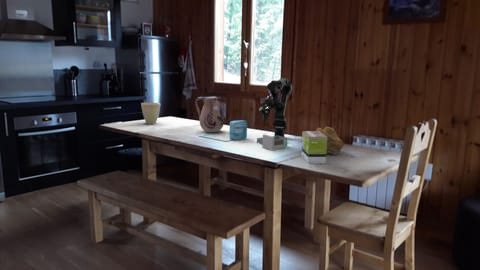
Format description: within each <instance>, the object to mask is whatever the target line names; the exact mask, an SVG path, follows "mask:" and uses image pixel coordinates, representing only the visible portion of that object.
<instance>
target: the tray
mask: <svg viewBox="0 0 480 270" xmlns="http://www.w3.org/2000/svg"><path fill="white" fill-rule="evenodd" d="M271 136H272V137H274V139H282V140H287V141H288V137H286V136H285V137H286V138H285V137H281V136H274V135H271ZM256 143H258V144H261V145H262V143H263V136H262V137H257V138H256Z"/></svg>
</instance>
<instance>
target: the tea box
mask: <svg viewBox="0 0 480 270" xmlns="http://www.w3.org/2000/svg"><path fill="white" fill-rule="evenodd" d="M301 133H302V134H301V135H302V136H301V157H302V158H303V159H304V161H306V163H307V164H308V163H321V164H326V161H327V154H326V152H327V136H325V135H324V134H322V133H321V132H320V131H316V130H315V131H314V130H313V131H312V130H307V131H305V130H304V131H302V132H301Z"/></svg>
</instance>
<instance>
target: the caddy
mask: <svg viewBox="0 0 480 270" xmlns="http://www.w3.org/2000/svg"><path fill="white" fill-rule="evenodd" d="M280 144H286V148H287V147H288V139H287V140H282V139H274V145H280Z"/></svg>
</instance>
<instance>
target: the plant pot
mask: <svg viewBox="0 0 480 270" xmlns="http://www.w3.org/2000/svg"><path fill="white" fill-rule="evenodd" d="M160 109H161V103H159V102H141V110H142V115H143V119H144V121H145V123H146V125H147V124H148V125H156V124H157V121H158V117H159V114H160Z"/></svg>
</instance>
